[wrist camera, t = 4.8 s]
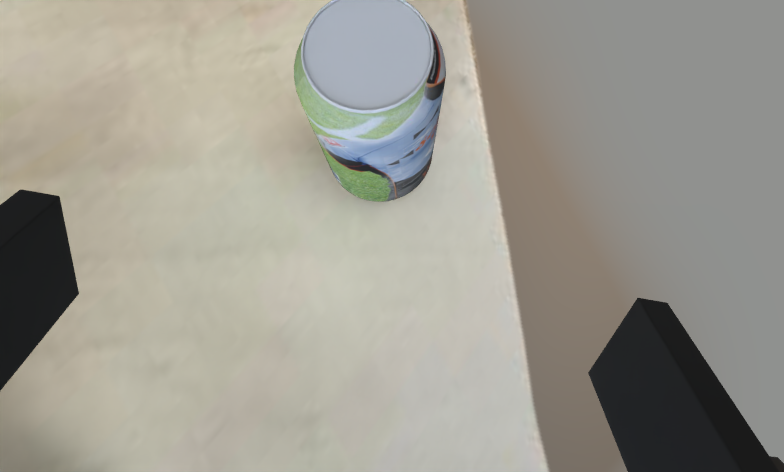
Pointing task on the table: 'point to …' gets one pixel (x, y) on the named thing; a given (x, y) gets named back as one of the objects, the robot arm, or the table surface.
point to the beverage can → (372, 93)
